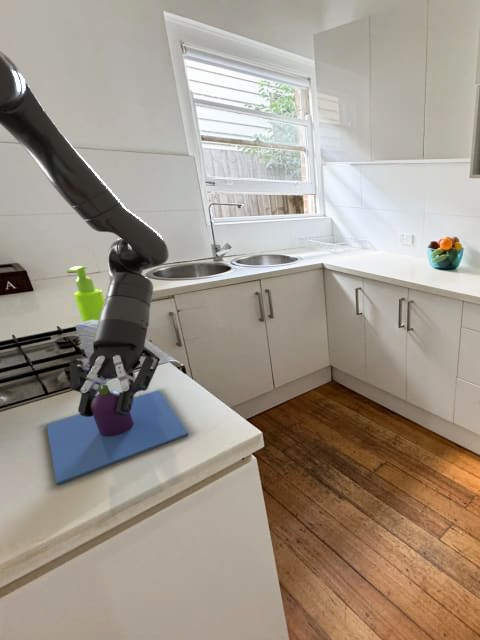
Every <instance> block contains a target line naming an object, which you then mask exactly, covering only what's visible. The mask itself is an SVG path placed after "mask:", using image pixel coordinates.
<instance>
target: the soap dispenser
mask: <svg viewBox="0 0 480 640" xmlns="http://www.w3.org/2000/svg"><path fill="white" fill-rule="evenodd" d="M86 269H88V266H87V265H78V266H73V267H70V268H69V269H68V270H66V273H67V274H77V279H75V284H76V287H77V290H78V291H75V292H74V293H73V297H74V300H75V302H76V307H77V308H78V312H79V314H80V317H81V321H82V323H83V322H86V321H89V320H99V317H100V313H101V309H102V307H103V305H104V303H105V300H106V299H105V298H104V294H103V290H101V289H100V288H96V287H95V284H94V281H93V278H92V277H89V276H87V273H86Z"/></svg>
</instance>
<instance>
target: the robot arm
mask: <svg viewBox="0 0 480 640" xmlns="http://www.w3.org/2000/svg"><path fill="white" fill-rule="evenodd" d="M0 125H1V126H2V127H3V128H4V129H5V130H6V131H7V132H8V133H9V134H10V135H11V136H12V137H13V138H14V139H15V140H16V141H17V142H18V143H19V144H20V145H21V147H22V148H24V150H25V151H26V152H27V153H28V155H29V156H30V157H31V158H32V159H33V161H34V162H35V163H36V165H37V166H38V168H39V169H40V170H41V171H42V173H43V174H44V175H45V177H46V179H47V180H48V182H49V183H50V184H51V185H52V187H53V188H54V189H55V190H56V192H57V193H58V194H59V195H60V196H61V197H62V199H63V200H64V201H65V202H66V203H67V204H68V205H69V206H70V207H71V209H73V211H74V212H76V214H78V216H79V217H80V218H81V219H82V220H83V221H84V223H86V224H87V225H88V226H89V227H90V228H91V229H92V230H94V231H96V232H98V233H111V234H114V235H115V236H117V237H119V238H118V239H116V240H115V241H113V242H112V243H111V245H110V246H109V248H108V251H107V267H108V277H109V284H108V287H107V292H106V297H105V299H104V300H105V303H104V305H103V307H102V309H101V313H100V317H99V321H98V325H97V329H96V333H95V337H94V341H93V347H94V350H93V352H92V354H91V355H90V356H89V357H86V358H81V359H78V358H76V357H74V358H71V359H70V360H69V389H70V390H72V391H74V392H78V393H80V394H81V396H80V399H79V400H80V401H79V406H78V408H77V410H78V411H77V412H78V413H79V414H80V415H81V416H85V417H92V416H93V414H92V411H91V407H90V405H91V402H92V400H93V398H94V397H95V396H96V395H98V394H99V391H98V387H99V386H102V385H107V382H108V381H109V380H110V379H116V378H117V379H118V381H119V383H120V388H121V390H122V391H119V393H120V394H119V398H118V403H117V408H116V413H117V414H119V415H127V414H128V412H130V410H131V408H132V403H133V398H135V395H136V393H138V392H141V391H142V392H145V391H147V390H148V389H149V387H150V384H151V382H152V379H153V377H154V375H155V373H156V370H157V368H158V366H159V364H160V363H159V361H158V359H156V358H154V357H152V356H150V355H147V356H144V355H143V351H144V348H145V344H146V340H147V339H146V338H147V333H148V329H149V325H150V316H151V315H150V314H151V313H150V311H151V304H152V299H153V294H154V284H153V282H152V280H151V279H150V278H148V277H147V276H145V275H143V272H144V271H145V270H149V269H153V268H156V267H159V266H162V265H164V264H166V262H167V261H168V259H169V256H170V252H169V247H168V245H167V243H166V241H165V240H164V238H163V237H162V236H161V235H160V233H158V232H157V231H156V230H155V229H153V227H151V226H149V224H147V223H146V222H145V221H143V220H142V219H141V218H140V217H138V216H137V215H136V214H134V213H133V212H131V211H130V210H129V209H127V207H125V206H124V204H123V203H122V202H121V201H120V199H119V198H118V197H117V196H116V195H115V193H114V192H113V191H112V189H110V188H109V186H108V185H107V184H106V183H105V182H104V181H103V180H102V178H101V177H100V176H99V174H97V172H95V170H94V169H93V168H92V167H91V166H90V165H89V163H88V162H87V161H86V160H85V159H84V158H83V157H82V156H81V155H80V153H79V152H78V151H77V150H76V149H75V148H74V147H73V146H72V144H71V143H70V142H69V141H68V140H67V138H66V137H65V136H64V134H63V133H62V132H61V131H60V129H59V128H58V127H57V126H56V124H55V123H54V122H53V120H52V119H51V118H50V116H49V114H48V113H47V112H46V110H45V109H44V107H43V106H42V104H41V102H39V99H38V98H37V97H36V95H35V94H34V92H33V91H32V89H31V87H30V85H29V84H28V83H27V81H26V80H25V78H24V77H23V74H22V73H21V71H20V69H19V68H18V67H17V64H16V63H14V61H12V59H11V58H10V57H8V56H7V55H6V54H5V53H4V52H3V51H0ZM90 366H91V367H92V368H91V369H90ZM139 366H140V369H139V371H138V373H137V375H136V374H135V370H136V369H137V368H138V367H139ZM98 376H99V377H98Z"/></svg>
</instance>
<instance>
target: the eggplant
mask: <svg viewBox="0 0 480 640" xmlns="http://www.w3.org/2000/svg"><path fill="white" fill-rule="evenodd" d="M98 391H99V392H98V393H97V395H95V397H94V398H93V400H92V402H91V405H90V407H91V411H92V414H93V417H94V419H95V422H96V425H97V427H98V430H99V432H100V434H101V435H102V436H115V435H119V434H121V433H124V432H126V431H128V430H129V429H130V428H131V427H132V426H133V424H134V423H133V420H132V417H131V414H130V412H128V414H127V415H119V414H117V413H116V408H117V403H118V398H119V394H120V391H115V390H110V388H109V386H108V385H107V384H105V385H102V386H99V387H98Z"/></svg>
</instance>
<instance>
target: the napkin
mask: <svg viewBox="0 0 480 640" xmlns="http://www.w3.org/2000/svg"><path fill="white" fill-rule="evenodd" d="M130 414H131V417H132V420H133V423H134V424H133V426H132V427H131V428H130V429H129V430H128V431H126V432H124V433H121V434H119V435H115V436H102V435H101V434H100V432H99V430H98V427H97V425H96V422H95V419H94V417H93V416H92V417H85V416H81V415H80V413H77V414H75V415H72V416H68V417H64V418H61V419H59V420H54V421H51V422H48V423H46V429H47V435H48V436H47V437H48V441H49V449H50V454H51V460H52V466H53V472H54V478H55V484H56V485H57V486H58V485H60V484H63V483H66V482H69V481H71V480H74V479H76V478H79V477H82V476H84V475H87V474H90V473H92V472H94V471H97V470H100V469H103V468H105V467H107V466H110V465H113V464H115V463H118V462H121V461H124V460H126V459H129V458H131V457H134V456H137V455H139V454H142V453H144V452H146V451H149V450H152V449H155V448H157V447H160V446H162V445H165V444H169V443H170V442H173V441H176V440H178V439H181V438H183V437H187V436H188V435H189V432H188V431H187V429H186V428H185V427H184V425H183V423H182V422H181V420H180V419H179V417H178V416H177V414H176V413H175V412H174V410H173V408H172V407H171V406H170V405H169V403H168V402H167V400H166V399H165V397H164V396H163V394H162V393H161V391H160V390H156V391H152V392H147V393H144V394H142V395H139V396H134V398H133V403H132V408H131V410H130Z"/></svg>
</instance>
